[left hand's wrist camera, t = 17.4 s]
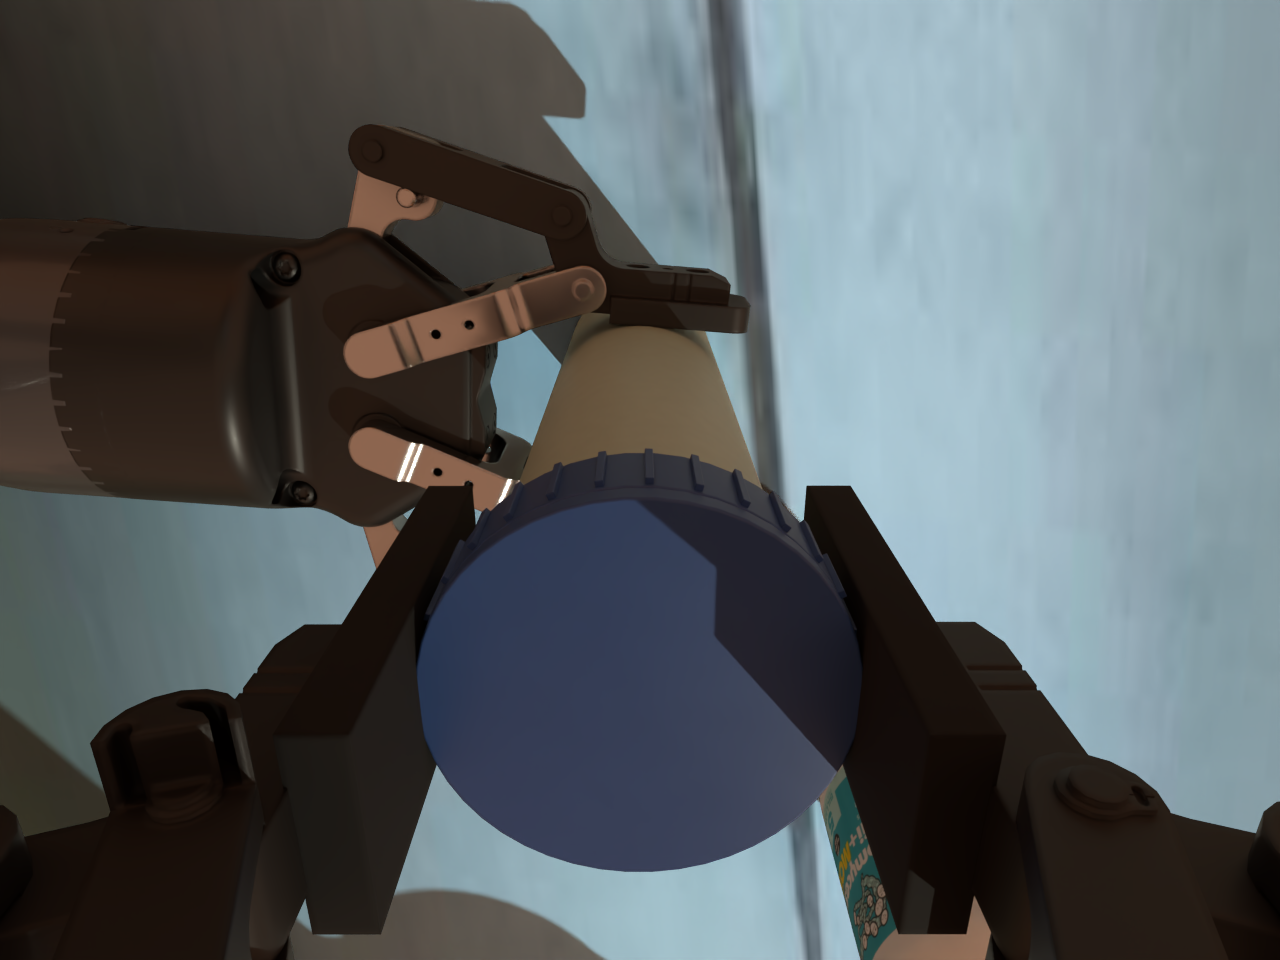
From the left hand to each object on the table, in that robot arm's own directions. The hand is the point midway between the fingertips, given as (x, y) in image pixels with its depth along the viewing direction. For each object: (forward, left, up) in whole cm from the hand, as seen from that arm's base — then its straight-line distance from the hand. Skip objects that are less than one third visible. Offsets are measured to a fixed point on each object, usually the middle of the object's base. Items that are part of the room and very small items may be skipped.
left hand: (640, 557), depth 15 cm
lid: (0, 0, +4) cm, 4 cm away
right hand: (-3, 0, -10) cm, 10 cm away
